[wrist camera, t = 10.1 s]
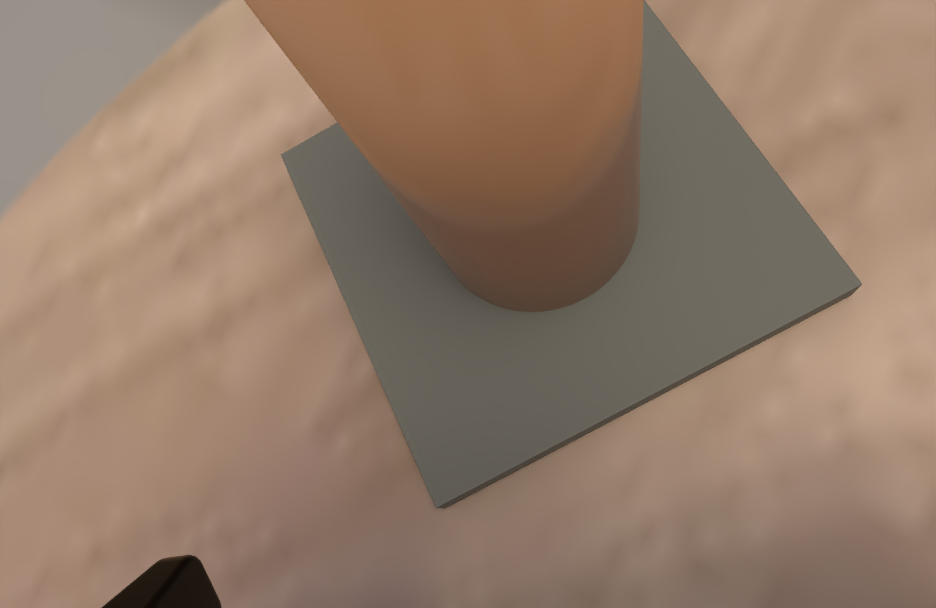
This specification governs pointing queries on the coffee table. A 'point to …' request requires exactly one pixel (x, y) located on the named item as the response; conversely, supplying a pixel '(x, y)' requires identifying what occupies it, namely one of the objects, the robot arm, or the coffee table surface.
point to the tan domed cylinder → (490, 128)
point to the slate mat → (588, 321)
